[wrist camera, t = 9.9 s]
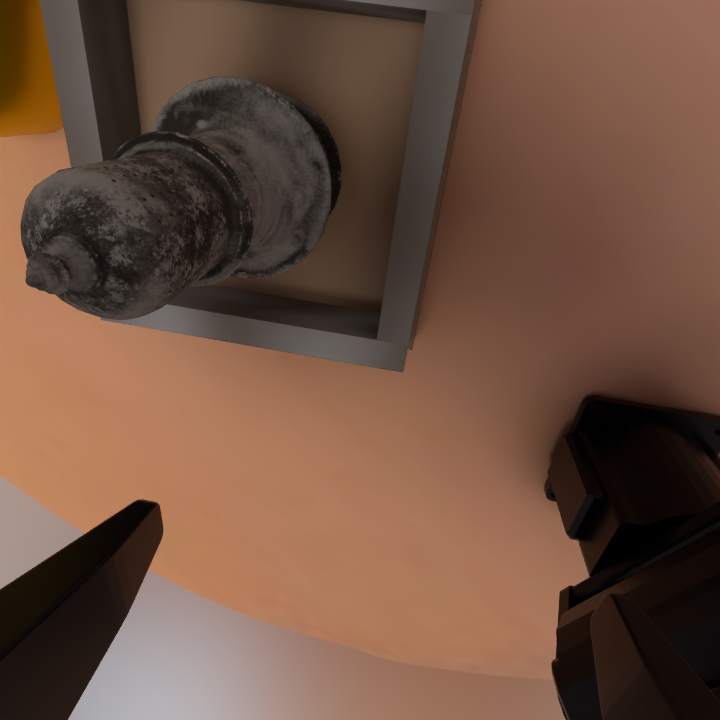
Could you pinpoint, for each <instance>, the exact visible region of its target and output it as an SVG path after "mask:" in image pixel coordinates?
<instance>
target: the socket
mask: <svg viewBox="0 0 720 720" xmlns="http://www.w3.org/2000/svg"><path fill="white" fill-rule="evenodd" d="M39 1H40V6H41V12H42V17H43V22H44V27H45V32H46V37H47V43H48V48H49V53H50V58H51V63H52V69H53V74H54V79H55V84H56V89H57V94H58V100H59V105H60V110H61V115H62V120H63V126H64V131H65V136H66V141H67V146H68V152H69V157H70V162H71V167H76V166H81V165H86V164H91V163H97V162H102V161H107V160H111V158H112V157H113V156H114V154H115V153H116V152H117V150H118V149H119V148H120V146H121V145H123V144H124V143H126V142H127V141H129V140H130V139H132V138H133V137H135V136H137V135H141V134H145V133H149V132H151V130H152V127H153V124H154V121H155V119H156V116H157V115H158V114H159V112H160V111H161V109H162V108H163V107H164V105H165V104H166V103H167V101H168V100H169V99H170V97H171V96H173V95H174V94H176V93H177V92H178V91H180V90H181V89H183V88H184V87H186V86H187V85H188V84H190V83H191V82H195V81H199V80H202V79H206V78H210V77H214V76H226V77H242V78H246V79H249V80H251V81H254V82H257V83H259V84H262V85H264V86H267V87H270V88H271V89H273V90H274V91H278V92H282V93H284V94H287V95H289V96H292V97H295V98H297V99H299V100H300V101H302V102H303V103H304V104H306V105H307V106H308V107H310V108H311V109H312V110H314V111H315V112H316V113H317V115H318V116H319V117H320V118H321V120H322V121H323V122H324V123H325V125H326V126H327V127H328V129H329V131H330V133H331V135H332V137H333V139H334V141H335V144H336V146H337V148H338V153H339V158H340V163H341V188H340V192H339V195H338V199H337V202H336V205H335V207H334V209H333V210H332V212H331V214H330V215H329V217H328V220H327V223H326V227H325V230H324V233H323V234H322V236H321V238H320V239H319V241H318V242H317V244H316V246H315V247H314V249H313V251H312V252H311V253H310V254H309V255H308V256H306V257H305V258H304V259H303V260H302V261H301V262H300V263H299V264H298V265H296V266H295V267H293V268H291V269H289V270H287V271H285V272H283V273H281V274H278V275H276V276H270V277H264V278H258V279H251V278H241V277H233V276H229V277H227V278H225V279H223V280H221V281H219V282H217V283H215V284H211V285H204V286H198V287H195V286H189V287H188V288H187V289H185V290H184V291H183V292H182V293H180V294H179V295H178V296H176V297H175V298H174V299H172V300H171V301H170V302H169V303H167V304H166V305H165V306H163V307H162V308H161V309H158V310H156V311H154V312H152V313H150V314H148V315H145V316H142V317H139V318H134V319H127V320H114V319H106V318H101V320H105V321H111V322H116V323H122V324H128V325H134V326H139V327H145V328H151V329H157V330H162V331H168V332H174V333H180V334H185V335H191V336H197V337H203V338H208V339H214V340H220V341H226V342H231V343H237V344H243V345H248V346H254V347H260V348H266V349H271V350H277V351H283V352H289V353H294V354H300V355H306V356H312V357H317V358H323V359H329V360H335V361H340V362H346V363H352V364H358V365H363V366H369V367H375V368H381V369H386V370H392V371H398V372H403V370H404V365H405V360H406V354H407V349H409V350H412V348H413V343H414V338H415V333H416V328H417V323H418V318H419V313H420V308H421V303H422V298H423V293H424V288H425V283H426V278H427V273H428V268H429V263H430V258H431V253H432V248H433V243H434V238H435V233H436V228H437V223H438V218H439V213H440V208H441V203H442V198H443V193H444V188H445V183H446V178H447V173H448V168H449V163H450V158H451V153H452V147H453V142H454V137H455V132H456V127H457V122H458V117H459V112H460V107H461V102H462V97H463V92H464V87H465V82H466V77H467V72H468V67H469V62H470V57H471V52H472V47H473V42H474V37H475V32H476V27H477V22H478V17H479V12H480V7H481V2H482V0H39Z"/></svg>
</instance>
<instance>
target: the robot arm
mask: <svg viewBox="0 0 720 720" xmlns="http://www.w3.org/2000/svg"><path fill="white" fill-rule="evenodd" d="M594 405H599V406H598V407H597V408H595V409H591V407H592V406H594ZM718 427H720V417H719V416H713V415H707V414H701V413H696V412H690V411H684V410H678V409H672V408H667V407H661V406H655V405H649V404H643V403H638V402H632V401H626V400H620V399H614V398H609V397H603V396H590V397H587V398H586V399H585V400H584V401H583V402H582V405H581V407H580V409H579V411H578V414H577V416H576V418H575V420H574V423H573V425H572V427H571V429H570V431H569V432H568V433H566V434H565V435H564V436H563V438H562V440H561V442H560V445H559V447H558V449H557V451H556V454H555V456H554V458H553V460H552V463H551V465H550V467H549V470H548V475H549V478H548V481H547V483H546V485H545V488H544V490H545V494H546V497H547V498H548V499H549V500H551V501H555V502H557V505H558V508H559V511H560V515H561V518H562V521H563V525H564V528H565V531H566V534H567V535H568V536H569V538H570V539H573V540H578V542H579V545H580V548H581V551H582V554H583V558H584V561H585V564H586V567H587V570H588V573H589V576H590V577H589V578H587V579H586V580H584V581H582V582H581V583H579V584H577V585H575V586H574V587H573V586H568V587H567V588H565V589H563V590H562V591H560V596H559V613H558V627H557V630H556V635H557V647H556V659H555V660H553V661H552V675H553V679H554V682H555V686H556V690H557V694H558V699H559V702H560V705H561V708H562V711H563V714H564V716H565V719H566V720H720V458H719V457H718V453H719V452H720V429H718V430H715V429H716V428H718ZM553 491H554V492H553ZM162 536H163V522H162V516H161V510H160V505H159V504H158V503H157V502H153V501H148V500H142V499H140V500H137V501H135V502H133V503H131V504H130V505H128V506H127V507H125V508H124V509H122V510H121V511H119V512H118V513H116V514H115V515H113V516H112V517H110V518H108V519H107V520H105V521H104V522H102V523H101V524H99V525H98V526H96V527H95V528H93V529H92V530H90V531H89V532H87V533H86V534H84V535H83V536H81V537H79V538H78V539H77V540H75V541H73V542H72V543H70V544H69V545H67V546H66V547H64V548H63V549H61V550H60V551H58V552H57V553H55V554H54V555H52V556H51V557H49V558H47V559H46V560H44V561H43V562H41V563H40V564H38V565H37V566H36V567H34V568H32V569H31V570H29V571H28V572H26V573H24V574H23V575H21V576H20V577H18V578H17V579H15V580H14V581H12V582H11V583H9V584H8V585H6V586H5V587H3V588H2V589H0V720H68V718H69V716H70V715H71V713H72V711H73V710H74V708H75V706H76V704H77V703H78V701H79V699H80V697H81V696H82V694H83V692H84V690H85V689H86V687H87V685H88V683H89V681H90V680H91V678H92V676H93V675H94V673H95V671H96V669H97V668H98V666H99V664H100V662H101V661H102V659H103V657H104V655H105V654H106V652H107V650H108V648H109V647H110V645H111V643H112V641H113V640H114V638H115V636H116V634H117V633H118V631H119V629H120V627H121V626H122V624H123V622H124V620H125V618H126V616H127V614H128V612H129V610H130V608H131V606H132V604H133V602H134V600H135V597H136V595H137V593H138V591H139V589H140V586H141V584H142V582H143V580H144V577H145V575H146V573H147V571H148V568H149V566H150V564H151V562H152V560H153V557H154V555H155V553H156V551H157V548H158V546H159V544H160V542H161V539H162Z"/></svg>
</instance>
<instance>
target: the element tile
mask: <svg viewBox="0 0 720 720" xmlns="http://www.w3.org/2000/svg"><path fill="white" fill-rule="evenodd" d="M62 126H63V120H62V115H61V110H60V105H59V100H58V94H57V89H56V84H55V79H54V74H53V69H52V63H51V58H50V53H49V48H48V43H47V37H46V32H45V27H44V22H43V17H42V12H41V6H40V1H39V0H0V137H9V136H20V135H31V134H41V133H49V132H55V131H56V130H58V129H59V128H60V127H62Z"/></svg>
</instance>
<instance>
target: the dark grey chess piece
mask: <svg viewBox="0 0 720 720" xmlns="http://www.w3.org/2000/svg"><path fill="white" fill-rule="evenodd" d="M340 188H341V163H340V158H339V153H338V148H337V146H336V144H335V141H334V139H333V137H332V135H331V133H330V131H329V129H328V127H327V126H326V125H325V123H324V122H323V121H322V120H321V118H320V117H319V116H318V115H317V113H316V112H315V111H314V110H312V109H311V108H310V107H308V106H307V105H306V104H304V103H303V102H302V101H300V100H299V99H297V98H295V97H292V96H289V95H287V94H284V93H282V92H278V91H274V90H273V89H271V88H270V87H267V86H264V85H262V84H259V83H257V82H254V81H251V80H249V79H246V78H242V77H226V76H214V77H210V78H206V79H202V80H199V81H195V82H191V83H190V84H188V85H187V86H186V87H184V88H183V89H181V90H180V91H178V92H177V93H176V94H174V95H173V96H171V97H170V99H169V100H168V101H167V103H166V104H165V105H164V107H163V108H162V109H161V111H160V112H159V114H158V115H157V116H156V119H155V121H154V124H153V127H152V130H151V132H149V133H145V134H141V135H137V136H135V137H133V138H132V139H130V140H129V141H127V142H126V143H124V144H123V145H121V146H120V148H119V149H118V150H117V152H116V153H115V154H114V156H113V157H112V158H111V160H107V161H102V162H97V163H91V164H86V165H81V166H76V167H72V168H67V169H63V170H59V171H57V172H56V173H54V174H52V175H51V176H49V177H48V178H46V179H45V180H43V181H42V182H40V183H39V184H37V185H36V186H35V187H34V188H33V190H32V191H31V193H30V194H29V196H28V197H27V199H26V201H25V205H24V210H23V214H22V219H21V239H22V244H23V247H24V250H25V253H26V257H27V259H28V263H27V270H26V283H27V284H28V285H29V286H31V287H35V288H37V289H38V290H41V291H46V292H47V293H49V294H55V295H56V296H58V297H59V298H60V299H61V300H62V301H64V302H66V303H68V304H69V305H71V306H73V307H74V308H76V309H78V310H81V311H83V312H86V313H89V314H92V315H95V316H98V317H101V318H106V319H114V320H127V319H134V318H139V317H142V316H145V315H148V314H150V313H152V312H154V311H156V310H158V309H161V308H162V307H163V306H165V305H166V304H167V303H169V302H170V301H171V300H172V299H174V298H175V297H176V296H178V295H179V294H180V293H182V292H183V291H184V290H185V289H187V288H188V287H189V286H195V287H198V286H204V285H211V284H215V283H217V282H219V281H221V280H223V279H225V278H227V277H229V276H233V277H241V278H251V279H258V278H264V277H270V276H276V275H278V274H281V273H283V272H285V271H287V270H289V269H291V268H293V267H295V266H296V265H298V264H299V263H300V262H301V261H302V260H303V259H304V258H305V257H306V256H308V255H309V254H310V253H311V252H312V251H313V249H314V247H315V246H316V244H317V242H318V241H319V239H320V238H321V236H322V234H323V233H324V230H325V227H326V223H327V220H328V217H329V215H330V214H331V212H332V210H333V209H334V207H335V205H336V202H337V199H338V195H339V192H340Z"/></svg>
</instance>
